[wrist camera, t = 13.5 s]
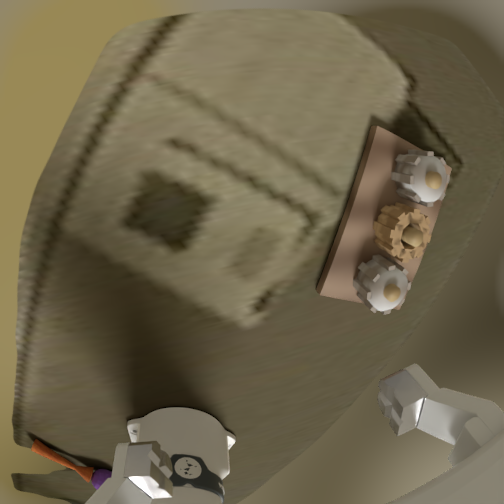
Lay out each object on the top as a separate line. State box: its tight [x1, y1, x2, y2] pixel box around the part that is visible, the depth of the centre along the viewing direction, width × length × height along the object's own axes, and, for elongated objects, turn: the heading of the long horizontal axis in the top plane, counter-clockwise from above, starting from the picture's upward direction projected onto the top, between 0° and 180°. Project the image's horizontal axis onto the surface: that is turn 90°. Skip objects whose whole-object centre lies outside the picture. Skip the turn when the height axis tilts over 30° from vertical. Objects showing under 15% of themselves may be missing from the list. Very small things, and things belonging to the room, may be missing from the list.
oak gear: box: [373, 202, 431, 263], centre depth 35 cm, size 7×7×4 cm
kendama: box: [31, 439, 112, 490], centre depth 43 cm, size 6×6×20 cm
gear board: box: [316, 126, 452, 315], centre depth 35 cm, size 22×14×6 cm, turn 163°
